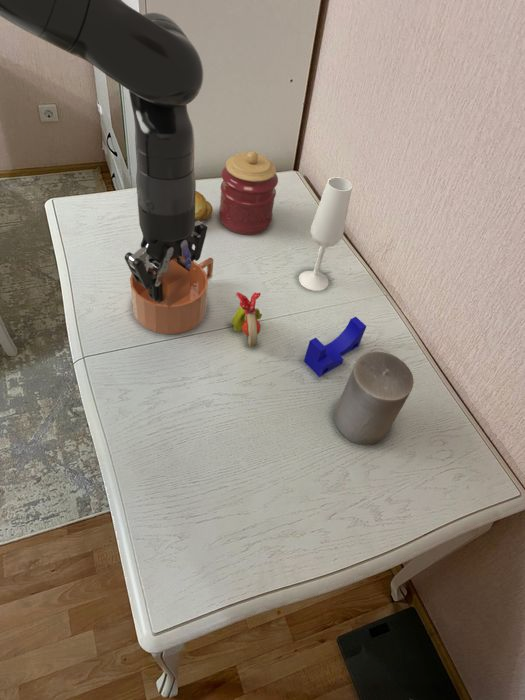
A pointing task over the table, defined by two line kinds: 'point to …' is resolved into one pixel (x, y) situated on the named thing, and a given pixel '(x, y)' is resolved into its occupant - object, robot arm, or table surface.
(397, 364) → the pillar candle
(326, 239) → the champagne flute
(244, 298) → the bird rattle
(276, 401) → the table surface
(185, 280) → the orange block
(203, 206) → the bread roll
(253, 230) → the kitchen canister
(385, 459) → the table surface
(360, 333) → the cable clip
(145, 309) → the measuring cup
